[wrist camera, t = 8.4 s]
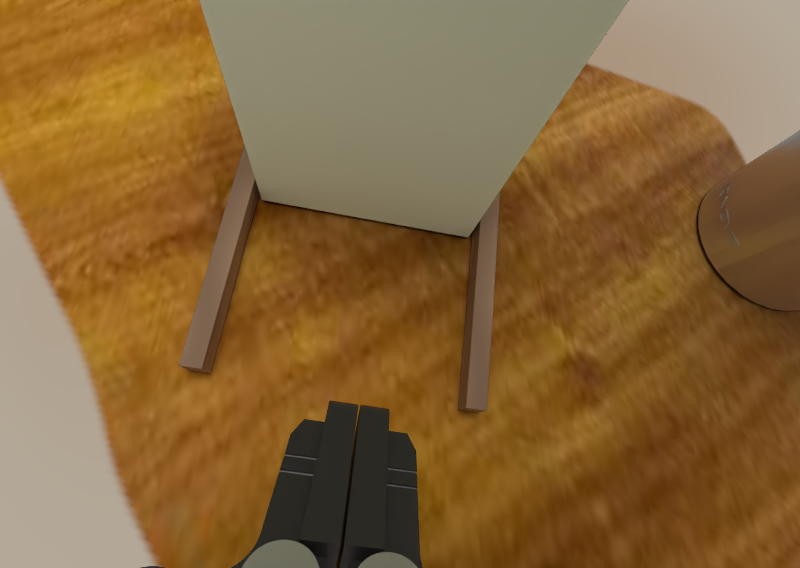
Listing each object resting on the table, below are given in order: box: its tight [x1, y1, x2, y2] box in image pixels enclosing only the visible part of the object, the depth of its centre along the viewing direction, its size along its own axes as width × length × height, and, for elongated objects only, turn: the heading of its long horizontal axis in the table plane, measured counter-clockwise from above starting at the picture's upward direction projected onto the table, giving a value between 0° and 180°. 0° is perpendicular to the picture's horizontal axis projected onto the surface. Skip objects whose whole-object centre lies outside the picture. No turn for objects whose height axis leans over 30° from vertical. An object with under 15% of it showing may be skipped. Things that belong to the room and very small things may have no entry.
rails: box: [179, 145, 500, 412], centre depth 24 cm, size 14×21×2 cm
